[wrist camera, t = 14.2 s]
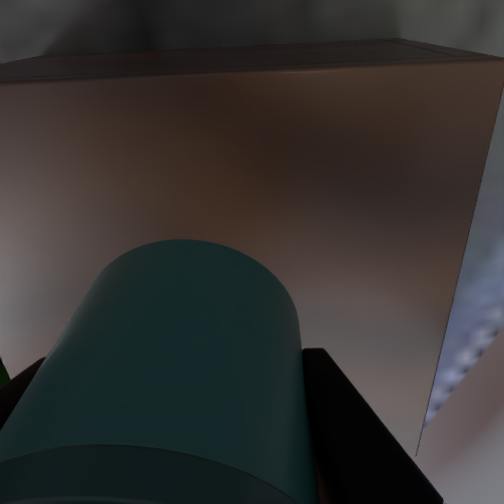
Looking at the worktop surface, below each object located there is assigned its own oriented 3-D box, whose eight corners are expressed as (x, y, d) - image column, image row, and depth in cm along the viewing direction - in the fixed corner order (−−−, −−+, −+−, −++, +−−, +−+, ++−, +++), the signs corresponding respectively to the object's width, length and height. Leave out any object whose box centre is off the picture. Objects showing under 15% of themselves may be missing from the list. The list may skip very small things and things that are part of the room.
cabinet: (368, 319, 23) (417, 457, 16) (111, 325, 23) (46, 461, 16) (401, 37, 16) (511, 58, 9) (39, 55, 17) (-126, 87, 10)
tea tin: (109, 410, 10) (-1, 696, 6) (51, 238, 8) (-199, 507, 4) (304, 405, 10) (336, 699, 6) (303, 226, 8) (355, 498, 3)
